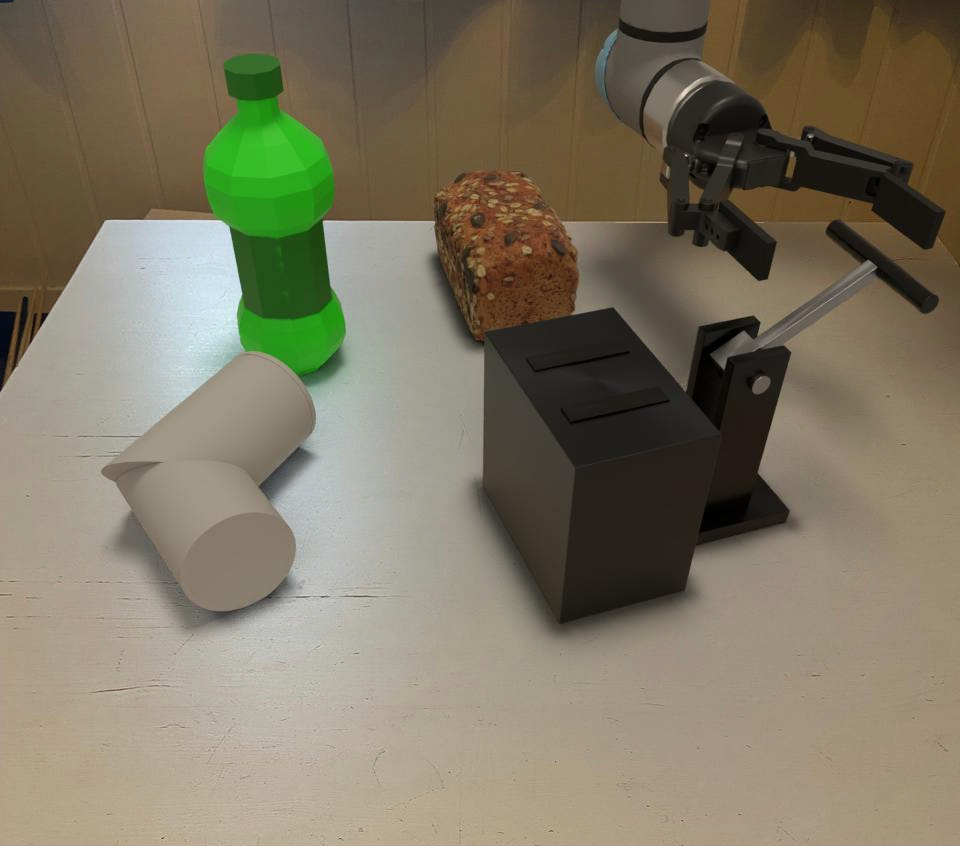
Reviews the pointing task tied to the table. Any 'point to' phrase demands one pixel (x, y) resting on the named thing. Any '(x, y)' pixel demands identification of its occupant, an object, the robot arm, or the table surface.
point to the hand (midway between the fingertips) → (853, 246)
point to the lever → (834, 295)
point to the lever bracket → (738, 428)
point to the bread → (504, 251)
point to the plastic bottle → (275, 219)
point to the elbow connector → (220, 481)
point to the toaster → (594, 461)
